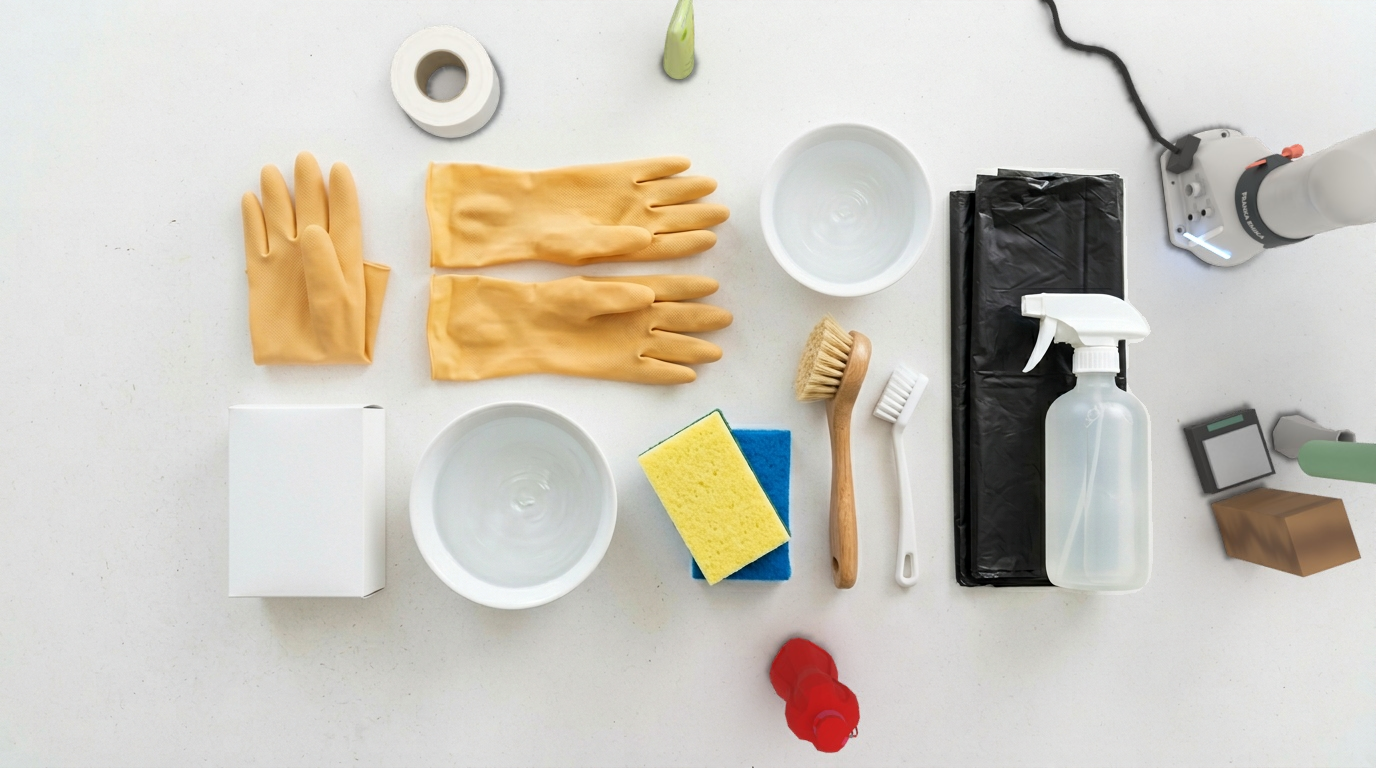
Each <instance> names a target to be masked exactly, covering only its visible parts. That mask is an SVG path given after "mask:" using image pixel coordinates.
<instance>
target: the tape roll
mask: <svg viewBox="0 0 1376 768" xmlns="http://www.w3.org/2000/svg"><path fill="white" fill-rule="evenodd" d="M392 58H393V59H392V62H391V65H390V72H389V79H390V80H389V81H390V86H391V90H392V94H393V96H394V98H395V100H396V102H397V103H398V105H399V106H400V107H401V109H402V110H403V111H404V112H405V113H406V114H407V115H408V117H409V118H410V119H411V120H412V121H413V122H414V124H416V125H417V127H419V128H420V129H422V130H423V131H425V132H427V133H429V134H431V135H433V136H436V137H439V138H440V137H441V138H446V139H447V138H449V139H453V138H461V137H466V136H468V135H471V134H473V133H475V132H477V131H479V130H480V129H482V128H483V127H484V126H485V125H486V124H487V123H488V122H489V121H490V119H492V117H493V115H494V113H495V112H496V110H497V108H498V105H499V100H500V97H501V95H500V94H501V88H500V87H501V85H500V79H499V76H498V73H497V71H496V68H495V66H494V64H493V62H492V60H491V58H490V55H489V54H488V52H487V51H486V49H485V47H484V46H483V45H482V44H481V43H480V41H479V40H477V38H475V37H474V36H473V35H472V34H470V33H468V32H467V31H465V30H462V29H459V28H458V27H455V26H452V25H448V24H441V25H440V24H439V25H434V26H429V27H424V28H422V29H420V30H418V31H416V32H414V33H412V34H411V35H410V36H408V37H406V38H405V40H404V41H403V42H402V43H401V44H400V45H399V47H398V48H397V50H396V51H395V53H394V55H393V57H392ZM446 66H454V67H459V68H461V69H462V70H464V71H465V75H466V80H465V84H464V86H463V88H462V90H461V91H460V92H459V93H458V94H457V95H455V96H454V97H452V98H450V99H446V100H438V99H433V98H431V97H429V96H428V91H427V87H428V82H429V79H430V78H431V75H432V74H433V73H434V72H435V71H437V70H439V69H440V68H442V67H446Z"/></svg>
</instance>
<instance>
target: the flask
mask: <svg viewBox="0 0 1376 768" xmlns="http://www.w3.org/2000/svg"><path fill="white" fill-rule="evenodd" d="M1272 437H1273V445H1274V451H1277V452H1278V453H1280V454H1281V455H1284V456H1285V457H1286V458H1288V459H1298V453H1299V451H1300V449H1301V447H1302V446H1303V445H1304V444H1305V443H1307V442H1309V441H1312V440H1325V441H1341V442H1357V437H1356V433H1355V432H1354V431H1352V430H1350V429H1339V430H1335V429H1331V428H1328V427H1325V426H1323V425H1320V424H1318V423H1316V422H1313V421H1311V420H1309V419H1307V418H1306V417H1304V416H1302V415H1299V414H1294V415H1287V416H1280V418H1279V420H1278V422H1277V424H1276V425H1275V427H1274V428H1273V431H1272Z"/></svg>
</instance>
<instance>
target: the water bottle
mask: <svg viewBox="0 0 1376 768" xmlns="http://www.w3.org/2000/svg"><path fill="white" fill-rule="evenodd" d="M769 679H770V684H771V685H772V687H773V689H774V691H775V693H776V695H777V696H779V697H780V698H781V699H782V700H783V701H785V707H784V716H785V720H786V724H787V725H786V726H787V727H788V729H789V730H790V731H791V732H792V733H793V734H794V735H795V736H796V737H797V739H798V740H799V741H807V742H809V743H811V744H812V745H813V747H814V748H815V750H816V751H817V752H822V753H825V754H834V753H839V752H840V751H841V750H842V749H843V748H845V746H846V745H847V743H848V742H849V740H850V739H855V738H857V736H858V735H859V729H858V725H859V722H860V719H861V714H860V713H861V712H860V703H859V701H858V697H857V695H856V694H855V693H854V692H853V691H852V690H851V689H850V688H849V686H848V685H846V684H844V683H842V682H841V681H840V680H839V671H838V667H837V665H836V662H835V659H834V658H833V656H832V655H831V654H830V653H829V652H828V651H826V650H825V649H824V648H822V647H821V646H819V645H817V644H815V642H814V643H813V642H812V641H810V640H808V639H804V638H801V637H795V638H790V640H788V641H787V642H786V643H784V645H783V646H781V648H780V650H779V651H778V653H777V655H776V656H775V657H774V659H773V661H772V664H771V667H770V671H769ZM854 730H855V733H856V734H854Z"/></svg>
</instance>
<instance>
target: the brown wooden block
mask: <svg viewBox="0 0 1376 768" xmlns="http://www.w3.org/2000/svg"><path fill="white" fill-rule="evenodd" d="M1210 505H1211V509H1212V511H1213V514H1214V517H1215V521H1216V524H1217V527H1218V530H1219V532H1220V536H1221V538H1222V542H1223V546H1224V548H1225V551H1226V555H1227V557H1229V558H1233V559H1236V560H1240V561H1243V562H1246V563H1251V564H1253V565H1258V566H1262V567H1265V568H1269V569H1271V570H1272V569H1273V570H1276V571H1279V572H1283V573H1287V574H1291V575H1294V576H1298V577H1301V578H1307V577H1310V576H1312V575H1315V574H1318V573H1321V572H1325V571H1328V570H1330V569H1333V568H1337V567H1339V566H1343V565H1346V564H1349V563H1351V562H1355V561H1357V560H1361V559H1362V556H1361V552H1360V550H1359V549H1360V548H1359V546H1358V543H1357V540H1356V537H1355V534H1354V530H1353V528H1352V524H1351V522H1350V518H1349V516H1348V513H1347V509H1346V506H1345V503H1344V501H1343V499H1342V498H1339V497H1333V496H1332V497H1331V496H1325V495H1318V494H1313V493H1312V494H1311V493H1305V492H1299V491H1291V490H1286V489H1285V490H1284V489H1277V488H1270V487H1264V486H1261V487H1258V488H1254V489H1252V490H1248V491H1246V492H1243V493H1240V494H1237V495H1234V496H1230V497H1228V498H1224V499H1222V500H1219V501H1215V502H1212V503H1211V504H1210Z"/></svg>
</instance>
